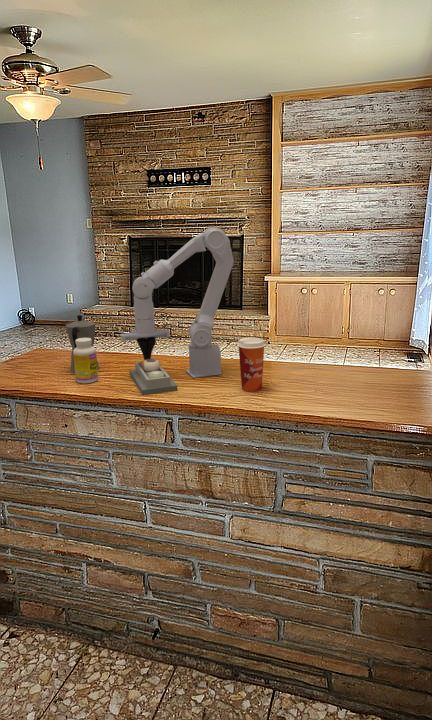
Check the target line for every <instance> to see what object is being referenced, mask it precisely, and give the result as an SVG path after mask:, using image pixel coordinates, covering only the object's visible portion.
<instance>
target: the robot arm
mask: <svg viewBox="0 0 432 720" xmlns="http://www.w3.org/2000/svg"><path fill="white" fill-rule="evenodd" d="M206 248H207V249H206ZM207 250H209V251H210V253H211V255H212V257H213V258H214V261H215V266H214V269H213V271H212V274H211V277H210V280H209V283H208V286H207V289H206V292H205V294H204V297H203V300H202V303H201V306H200V308H199V312H198V314H197V315H196V317H195V320H194V322H192V323H191V324H190V326H189V328H188V335H189V336H190V342H189V343H188V357H189V358H188V359H189V368H188V369H185V372H186V373H188V375H189V376H190V377H191V378H193V379H195V378H204V377H210V376H211V377H212V376H218V375H219V376H220V375H222V374H223V371H222V354H221V347H220V346H219V345H218V343H213V342H212V340H213V339H212V337H213V336H212V335H213V334H212V329H213V328H214V321H215V316H216V314H217V312H218V311H217V310H218V308H219V305H220V303H221V299H222V296H223V293H224V292H225V288H226V286H227V283H228V281H229V277H230V274H231V272H232V269H233V265H234V263H235V262H234V256H233V251H232V247H231V240H230V239H229V237H228V236H227V234H226V232H225V231H224V230H223V229H221V228H219V227H214V226H213V227H212V226H211V227H208V228H206V229H205V230H204V231H203V232H200V233H199V234H197V235H196V236H194V237H193V238H190V240H189V241H188V242H187V243H185V244H184V245H183V246H182V247H180V249H178V250H177V251H176V252H175V253H174V254H172V256H171V257H169V258H168V259H159V260H154V262H153V265H152V266H151V267H150V268H149V269H147V270H146V271H145V272H144V271H142V272H141V273H140V275H141V276H139V277H136V278H135V279H134V281H133V283H132V286H131V287H132V293H133V294H134V295H133V301H134V302H133V309H134V310H133V311H134V312H133V313H134V314H133V315H134V323H135V325H134V326H135V331H131V332H126V333H120V341H121V342H122V343H123V342H127V341H136V342H137V345H138V346H139V348H140V351H141V354H142V357H143V361H144V360H147V359H152V354H153V349H154V348H155V345H156V343H157V339H156V338H170V337H171V331H170V330H169V329H155V313H154V310H155V309H154V307H155V306H154V302H153V295H152V294H153V292H154V289H158V288H159V287H161V286H162V285H163V284H165V282H167V281H168V280H169V279H171V278H172V277H173V276H174V274H175V269H176V268H177V267H178V266H180V265H181V264H182V263H183V262H185V261H186V260H188V259H189V258H190V257H192V256H193V255H194V254H195V253H201V252H202V253H203V252H206V251H207Z"/></svg>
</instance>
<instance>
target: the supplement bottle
mask: <svg viewBox="0 0 432 720" xmlns="http://www.w3.org/2000/svg"><path fill="white" fill-rule="evenodd" d="M75 342H76V345H77V347H76V348H75V349H74V350H73V356H74V365H75V373H74V375H75V381H76V382H77V383H78V384H92V383H94V382H97V381H98V380H99V369H98V368H97V362H98V359H97V349H96V348H95V347H94V345H93V346H91V344H92V339H91V338H79V339H76V340H75Z"/></svg>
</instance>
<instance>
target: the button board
mask: <svg viewBox="0 0 432 720" xmlns="http://www.w3.org/2000/svg"><path fill="white" fill-rule="evenodd" d="M140 362H141V361H137V362H134V368H135V369H130V370H129V376H130V377H131V379H132V381H133V382H134V384H135V386H136V387H137V389H138V391H139V392H140V395H142V396H147V395H148V396H149V395H155V394H161V393H169V392H176V391H178V384H177V383H176V382H175V381H174V379H173V378H172V377H171V376H170V374H168V372H167V371H166V370H165V369H164V368H163V366H162V365H161V364H160V363H159V371H162V372H164V377H160V378H152V379H149V378H148V373H149V372H148V373H146V372H144V367H141V366H140Z"/></svg>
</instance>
